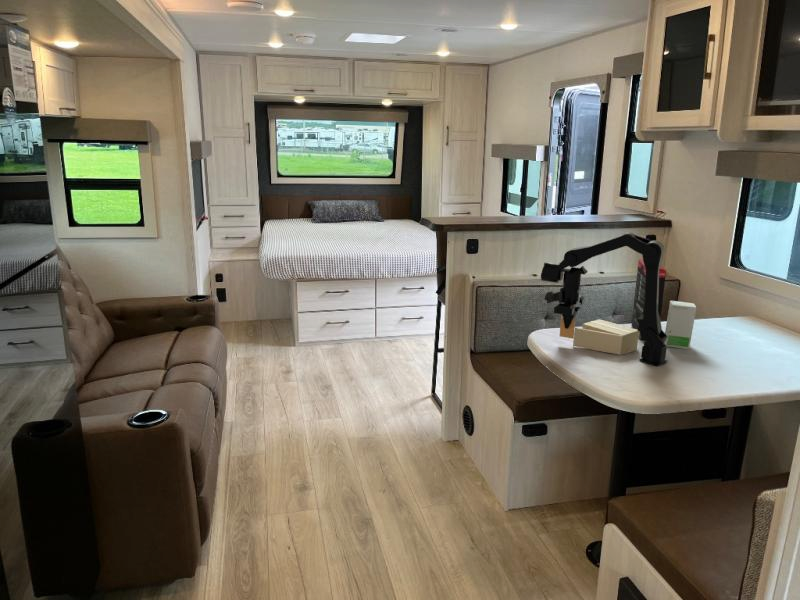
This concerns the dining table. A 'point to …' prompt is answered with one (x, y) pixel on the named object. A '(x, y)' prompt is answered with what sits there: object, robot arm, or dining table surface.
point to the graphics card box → (640, 294)
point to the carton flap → (592, 338)
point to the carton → (616, 333)
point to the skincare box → (680, 324)
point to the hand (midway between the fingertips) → (567, 327)
